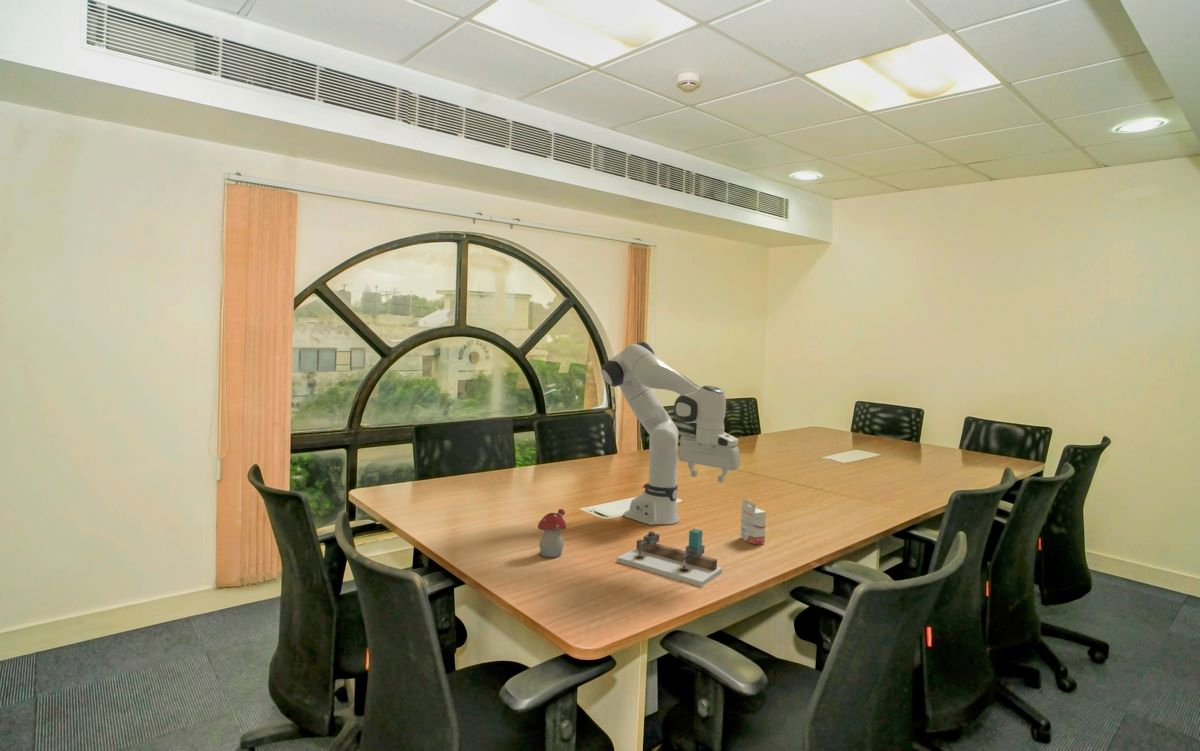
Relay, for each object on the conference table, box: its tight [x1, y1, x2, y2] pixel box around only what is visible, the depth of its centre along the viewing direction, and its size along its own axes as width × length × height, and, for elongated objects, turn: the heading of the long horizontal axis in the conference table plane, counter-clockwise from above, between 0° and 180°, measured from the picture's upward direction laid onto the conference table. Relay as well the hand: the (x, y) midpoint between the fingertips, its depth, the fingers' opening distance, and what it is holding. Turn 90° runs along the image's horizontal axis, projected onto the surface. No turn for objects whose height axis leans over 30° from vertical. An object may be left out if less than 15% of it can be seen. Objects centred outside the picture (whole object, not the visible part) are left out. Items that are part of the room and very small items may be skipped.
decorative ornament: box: [537, 508, 567, 559], centre depth 194 cm, size 9×7×15 cm
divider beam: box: [635, 530, 718, 571], centre depth 188 cm, size 28×10×7 cm, turn 54°
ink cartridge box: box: [740, 498, 767, 545], centre depth 214 cm, size 9×5×15 cm, turn 21°
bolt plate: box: [616, 547, 723, 588], centre depth 187 cm, size 30×14×2 cm, turn 54°
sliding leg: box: [682, 528, 705, 568], centre depth 184 cm, size 4×10×10 cm, turn 144°
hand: (707, 479), depth 192 cm, fingers open, 8 cm apart
